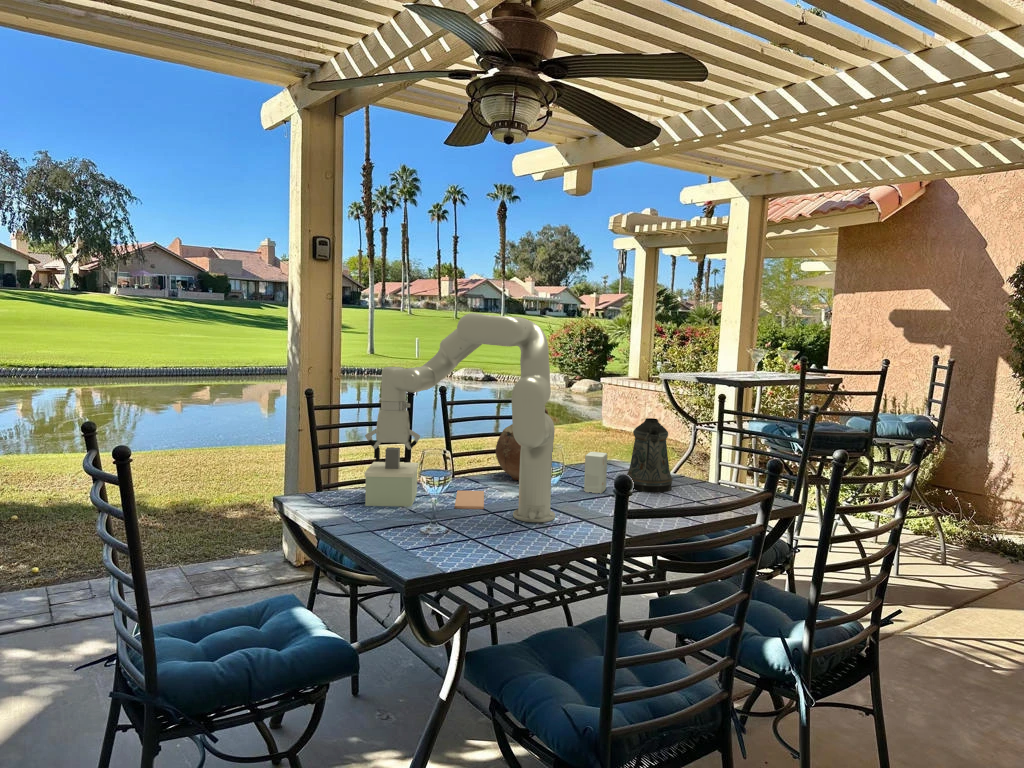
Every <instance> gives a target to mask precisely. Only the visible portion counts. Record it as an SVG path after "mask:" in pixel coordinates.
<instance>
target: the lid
mask: <svg viewBox="0 0 1024 768" xmlns="http://www.w3.org/2000/svg"><path fill="white" fill-rule="evenodd" d="M384 453H385V454H384V455H385V456H384V457H385V461H378V462H376V461H373V462H372V463H371V464H370V465H369V467H368V468H366V470H365V471H364V478H366V477H411V478H413V477H414V474H415V472H416V470H417V471H418V468H419V462H406V461H405V462H403V461H401V447H389V446H388V447H386V448H385V451H384Z"/></svg>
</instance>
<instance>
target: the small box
mask: <svg viewBox="0 0 1024 768" xmlns="http://www.w3.org/2000/svg"><path fill="white" fill-rule="evenodd" d="M607 472H608V453H607V452H599V451H589V452H588V453H587V454H585V456H584V480H583V481H584V485H583V492H584V491H585V492H584V493H589V492H592V493H593V494H598V493H600V494H603V492H605V490H607V474H608V473H607ZM592 493H591V494H592Z"/></svg>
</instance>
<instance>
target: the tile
mask: <svg viewBox="0 0 1024 768" xmlns="http://www.w3.org/2000/svg"><path fill="white" fill-rule="evenodd" d="M454 502H455V503H454V506H453V509H455V510H456V509H457V510H460V509H463V510H484V508H485V491H484V490H457V491H456V497H455V501H454Z"/></svg>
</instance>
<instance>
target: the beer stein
mask: <svg viewBox="0 0 1024 768" xmlns="http://www.w3.org/2000/svg"><path fill="white" fill-rule="evenodd" d="M632 433H633V436H634V442H633V448H632V451H631V453H632V454H631V459H630V464H629V468H628V471H627V474H626V475H629V476H630V477H631V478H632V480H633V482H634V488H633V491H636V490H637V492H642V491H643V493H657V494H658V493H666V492H669V491H670V490H671V489H672V486H673V485H672V484H673V477H672V474H671V470H670V464H669V457H668V454H669V453H668V446H667V439H668V437H669V432H668V430H667V429H666V428H665V426H663V425H662V424H661V422H659V419H658V418H652V417H651V418H649V417H647V418H645V419H644V421H643V422H642V423H641V424H639V425H638V426H637V427H635V428H634V429H633V432H632ZM634 489H635V490H634Z"/></svg>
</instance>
